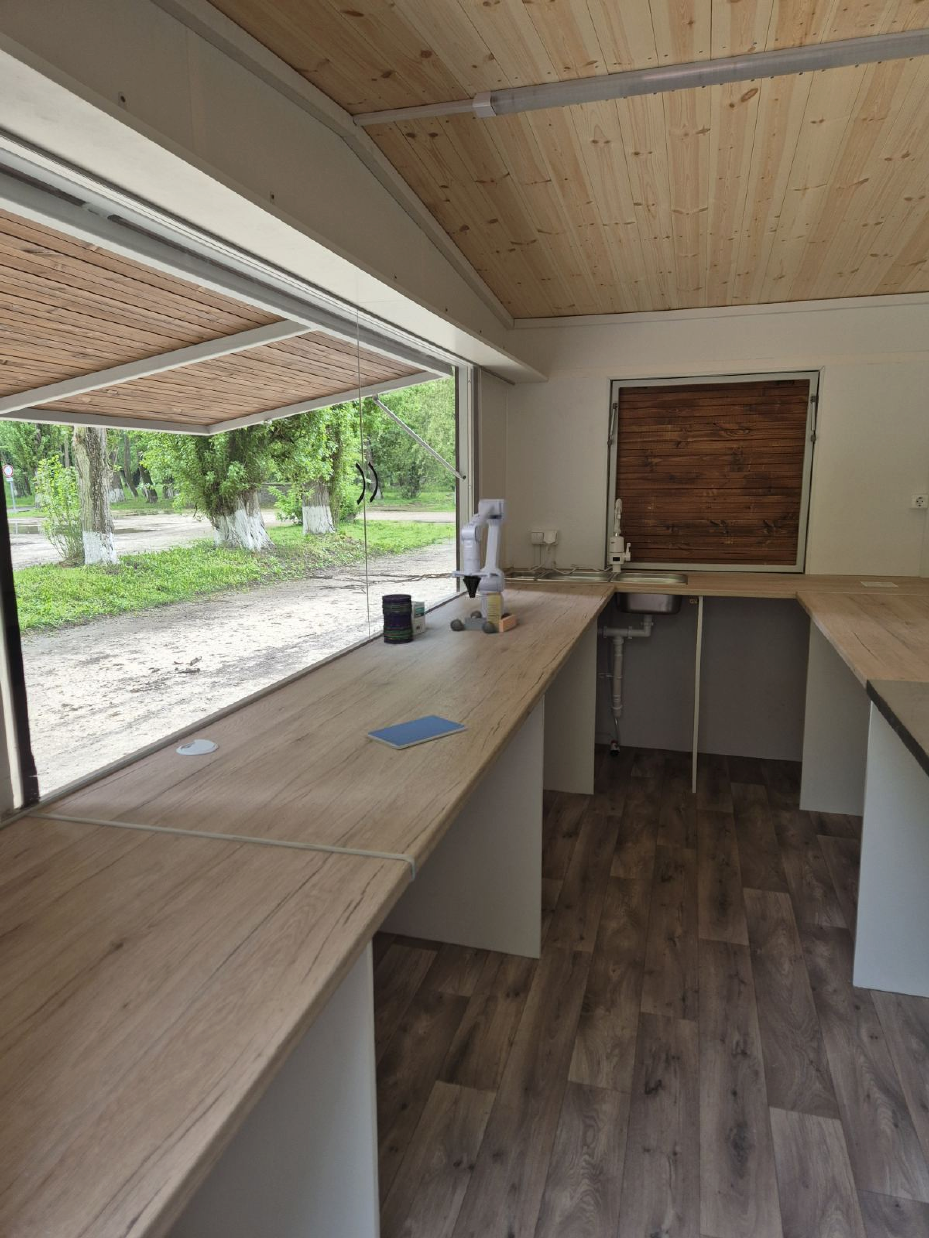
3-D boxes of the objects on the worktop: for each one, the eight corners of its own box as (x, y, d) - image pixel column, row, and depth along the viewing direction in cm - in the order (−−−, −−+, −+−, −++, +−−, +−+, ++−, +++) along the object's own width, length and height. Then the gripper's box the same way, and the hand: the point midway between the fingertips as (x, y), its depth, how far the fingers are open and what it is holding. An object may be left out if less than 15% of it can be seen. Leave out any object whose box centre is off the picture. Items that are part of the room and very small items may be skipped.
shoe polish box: (501, 626, 290) (500, 593, 288) (501, 629, 285) (500, 595, 283) (487, 626, 290) (486, 593, 288) (487, 629, 286) (486, 595, 283)
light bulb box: (426, 632, 284) (425, 601, 282) (415, 635, 278) (414, 604, 276) (401, 629, 290) (400, 599, 288) (389, 632, 284) (388, 602, 282)
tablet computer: (433, 718, 188) (433, 713, 188) (470, 731, 179) (469, 725, 178) (363, 738, 175) (363, 732, 175) (399, 753, 166) (398, 747, 166)
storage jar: (412, 644, 265) (410, 598, 262) (381, 644, 265) (379, 599, 262) (414, 637, 275) (413, 593, 272) (385, 638, 275) (383, 594, 272)
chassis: (469, 621, 302) (469, 610, 301) (519, 624, 294) (519, 613, 293) (447, 630, 285) (447, 619, 284) (499, 634, 277) (499, 622, 276)
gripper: (447, 560, 286) (448, 598, 289) (486, 561, 280) (486, 600, 283) (456, 557, 292) (457, 595, 295) (494, 558, 286) (494, 597, 289)
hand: (472, 597), depth 289 cm, fingers closed
